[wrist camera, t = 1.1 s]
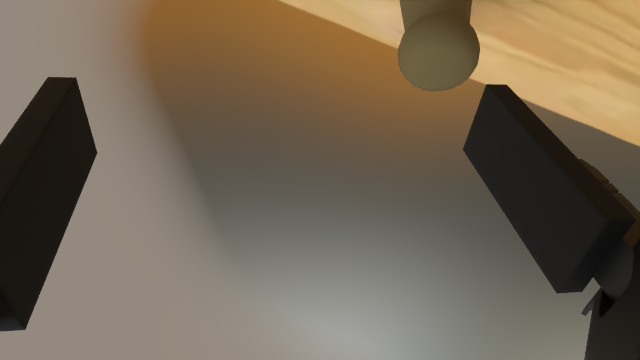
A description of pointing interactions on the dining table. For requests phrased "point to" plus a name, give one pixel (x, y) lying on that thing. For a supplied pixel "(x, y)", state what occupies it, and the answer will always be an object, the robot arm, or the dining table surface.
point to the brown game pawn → (437, 43)
